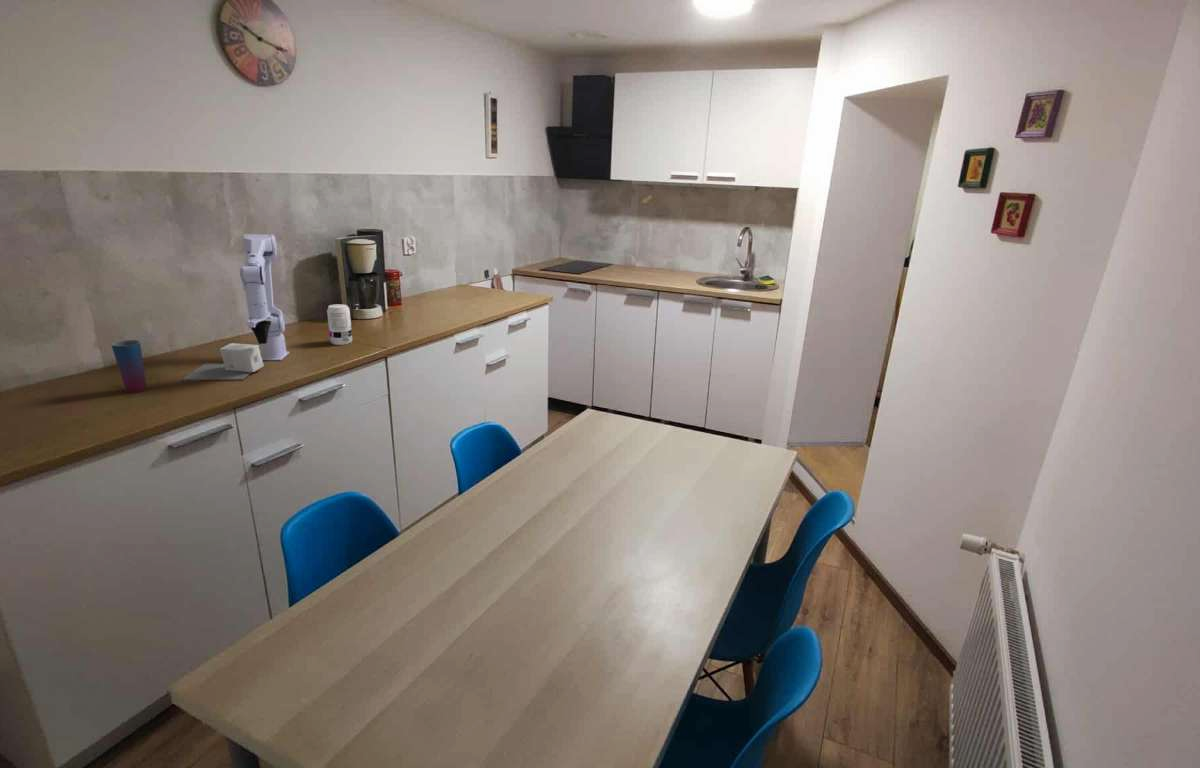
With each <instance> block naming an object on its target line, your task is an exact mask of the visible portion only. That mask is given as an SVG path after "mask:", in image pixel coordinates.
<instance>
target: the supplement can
mask: <svg viewBox="0 0 1200 768" xmlns="http://www.w3.org/2000/svg"><path fill="white" fill-rule="evenodd" d="M326 314H327V324H328V331H329V332H328V333H329V334H328V335H329V341H330V343H331V344H332V345H334V346H346V345H349V343H350V344H351V343H352V342H353V333H352V320H351V312H350V307H349V306H348V305H347V304H343V303H341V304H339V303H337V304H336V303H335V304H330V305H328V308H327V309H326Z"/></svg>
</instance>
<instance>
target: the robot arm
mask: <svg viewBox="0 0 1200 768" xmlns="http://www.w3.org/2000/svg"><path fill="white" fill-rule="evenodd" d="M242 247H243V250H244V252H245V255H246V256H245V258H244V264H243V266H242V267H240V269H239V275H240V280H241V283H242V287H243V290H244V291H245V292H244V294H245V300H246V305H247V312H248V317H247V319H248V320H247V322H246V325H247V328H249V329H250V330H251V331H252V332H253V334H254V337H255V338H256V339H257V343H258V345H259V349H260V353H261V357H262V361H282V360H283V359H284V358H285V357H287V356H288V355H289V354H290V351H287V343H286V338H285V335H284V334H283V333H284V332H285V330H286V324H285V319H284V314H283V312H282V310H280V309H278V308H277V307H276V306H275V305H274V292H273V291H274V290H273V280H272V279H273V278H272V264H273V262H275V261H276V260H277V259H278V247H277V239H276V235H274V234H273V233H272V234H257V233H256V234H247V233H243V235H242Z"/></svg>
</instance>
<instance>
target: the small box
mask: <svg viewBox="0 0 1200 768" xmlns="http://www.w3.org/2000/svg"><path fill="white" fill-rule="evenodd" d="M219 352H220V354H221V358H222V361H223V362H222V363H223V364H224V365H225V370H230V371H241V372H253V373H254V372H256V371H258V370H260V369H261V368H263V367H264V366H265V365H264V360H262V357H261V356H262V355H261V349H260V344H248V343H233V342H232V343H231V342H230V343H228V344H226V345H224V346H223V347H220V348H219Z"/></svg>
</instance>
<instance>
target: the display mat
mask: <svg viewBox="0 0 1200 768" xmlns="http://www.w3.org/2000/svg"><path fill="white" fill-rule="evenodd" d="M250 373H251V374H253V373H252V372H241V371H230V370H225V365H224V363H204V364H202V365H201V366H199V367H197V368H196V369H195V370H192V372H190V373H189V374H187V375H186V376H184V377H183V378H182V379H181V381H182V382H200V381H199V380H243V379H244V378H245V379H246V377H247V376H248V375H249V374H250ZM251 374H250V375H251ZM250 375H249V376H250ZM249 376H248V377H249ZM248 377H247V378H248ZM245 379H244V380H245ZM244 380H243V381H244Z"/></svg>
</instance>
